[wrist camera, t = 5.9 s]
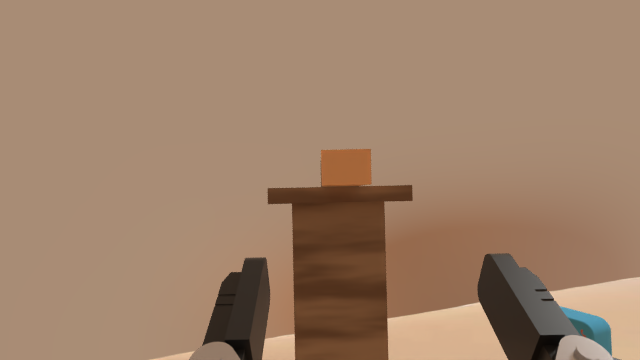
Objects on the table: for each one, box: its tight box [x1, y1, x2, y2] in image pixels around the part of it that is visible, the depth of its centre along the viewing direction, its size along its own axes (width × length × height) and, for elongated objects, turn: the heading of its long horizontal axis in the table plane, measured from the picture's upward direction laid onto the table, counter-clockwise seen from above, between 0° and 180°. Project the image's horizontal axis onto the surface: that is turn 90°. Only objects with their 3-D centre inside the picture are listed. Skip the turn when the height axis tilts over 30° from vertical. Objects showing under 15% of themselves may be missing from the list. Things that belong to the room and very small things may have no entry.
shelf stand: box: [268, 185, 412, 360], centre depth 45 cm, size 16×14×32 cm
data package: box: [560, 306, 612, 356], centre depth 60 cm, size 12×4×12 cm, turn 26°
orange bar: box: [321, 149, 371, 187], centre depth 39 cm, size 24×4×3 cm, turn 0°
